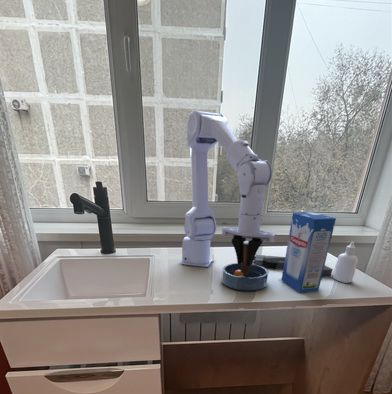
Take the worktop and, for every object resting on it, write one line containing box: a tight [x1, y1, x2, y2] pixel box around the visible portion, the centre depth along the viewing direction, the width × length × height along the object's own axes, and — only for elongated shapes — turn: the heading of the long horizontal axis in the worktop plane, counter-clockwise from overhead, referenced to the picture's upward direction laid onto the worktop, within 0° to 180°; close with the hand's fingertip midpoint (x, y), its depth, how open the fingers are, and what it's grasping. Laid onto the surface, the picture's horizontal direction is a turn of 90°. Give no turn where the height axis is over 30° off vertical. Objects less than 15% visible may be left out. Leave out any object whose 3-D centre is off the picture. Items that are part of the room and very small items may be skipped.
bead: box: [234, 270, 244, 277], centre depth 86 cm, size 3×3×3 cm
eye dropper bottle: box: [332, 241, 359, 284], centre depth 87 cm, size 4×6×12 cm
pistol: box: [253, 254, 333, 277], centre depth 98 cm, size 2×26×15 cm
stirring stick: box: [241, 240, 250, 274], centre depth 80 cm, size 2×2×9 cm
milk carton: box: [281, 211, 337, 294], centre depth 81 cm, size 10×6×20 cm, turn 16°
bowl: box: [221, 262, 269, 292], centre depth 85 cm, size 13×13×4 cm
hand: (244, 264), depth 81 cm, fingers closed on stirring stick, 2 cm apart
